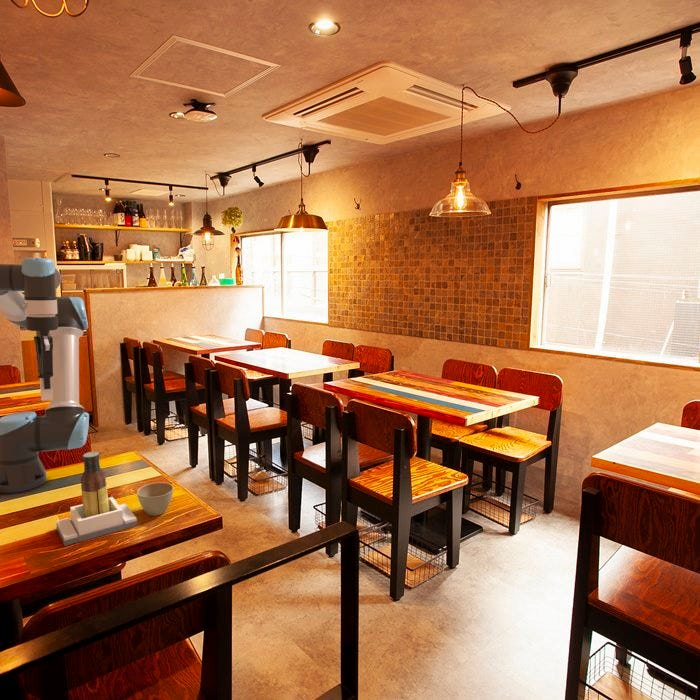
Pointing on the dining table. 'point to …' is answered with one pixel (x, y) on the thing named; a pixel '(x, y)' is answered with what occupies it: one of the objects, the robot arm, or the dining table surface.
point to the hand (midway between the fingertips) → (47, 399)
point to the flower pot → (155, 497)
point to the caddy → (95, 523)
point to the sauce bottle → (93, 486)
